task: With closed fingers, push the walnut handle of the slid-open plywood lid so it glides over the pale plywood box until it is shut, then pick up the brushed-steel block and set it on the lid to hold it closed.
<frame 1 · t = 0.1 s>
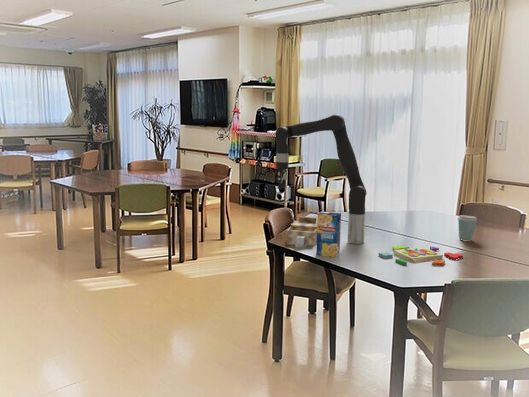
hand: (281, 188, 296), 29 cm above the table, fingers open, 8 cm apart
box: (302, 242, 286), on the table
steel block: (300, 247, 276), on the table
disposable coffee cup: (465, 240, 296), on the table
blue food carton: (327, 254, 263), on the table
lid: (306, 221, 293), point 10 cm above the table, slide at 9.0 cm
pattern blocks set: (418, 257, 261), on the table
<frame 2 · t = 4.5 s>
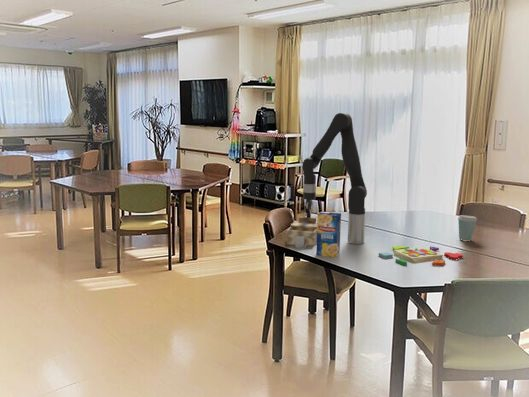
hand: (308, 219, 299), 10 cm above the table, fingers closed
lid: (306, 222, 292), point 10 cm above the table, slide at 8.5 cm, touching gripper
everything else where it was.
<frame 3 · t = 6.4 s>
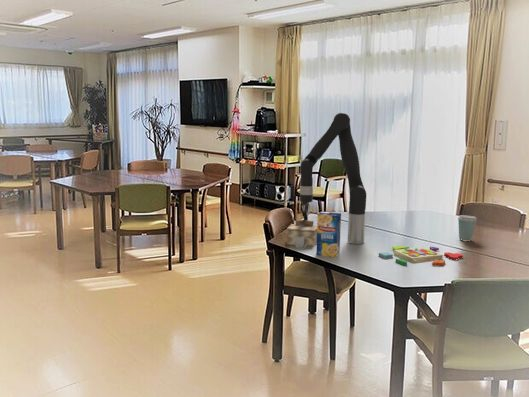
hand: (305, 222, 291), 10 cm above the table, fingers closed
lid: (302, 225, 284), point 10 cm above the table, slide at -0.1 cm, touching gripper
everything else where it was.
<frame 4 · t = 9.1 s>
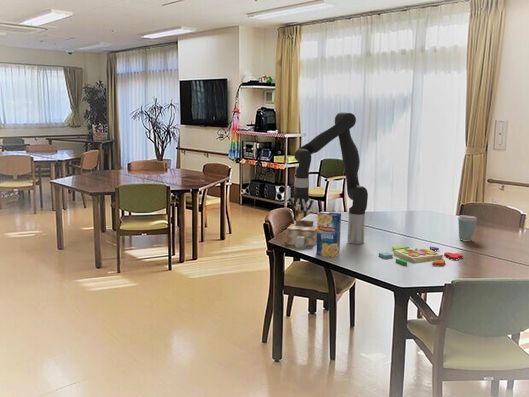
hand: (301, 216, 273), 17 cm above the table, fingers open, 3 cm apart
lid: (302, 225, 284), point 10 cm above the table, slide at 0.0 cm
everything else where it was.
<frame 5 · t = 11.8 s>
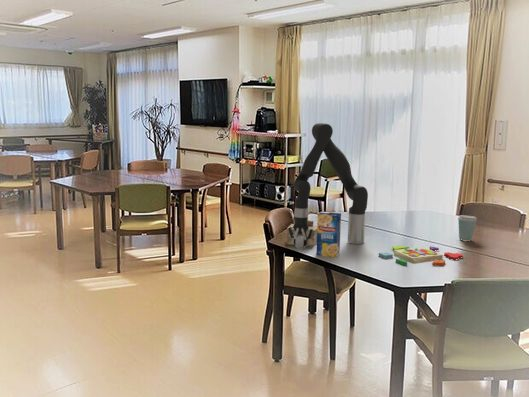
hand: (300, 245, 276), 1 cm above the table, fingers closed on steel block, 4 cm apart
steel block: (300, 247, 276), on the table, touching gripper
everything else where it was.
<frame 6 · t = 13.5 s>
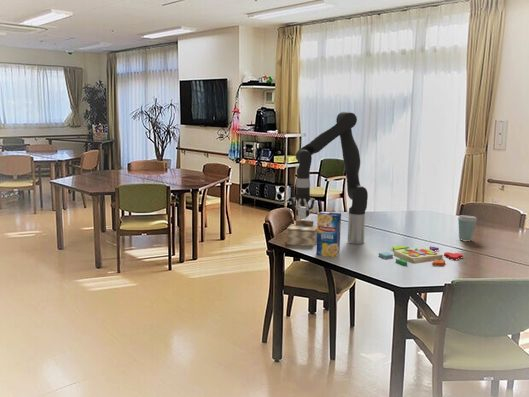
hand: (302, 216, 277), 17 cm above the table, fingers closed on steel block, 4 cm apart
steel block: (302, 217, 277), point 16 cm above the table, touching gripper
everything else where it was.
when the fingers open (11 cm above the table, at t = 15.3 s): steel block stays where it is, resting on lid.
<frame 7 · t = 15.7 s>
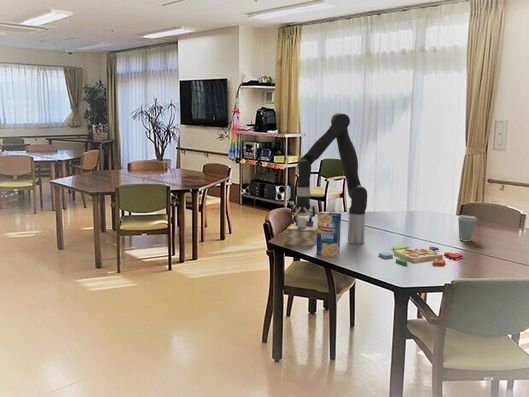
hand: (302, 223, 283), 12 cm above the table, fingers open, 8 cm apart
steel block: (302, 227, 283), point 9 cm above the table, touching lid
lid: (302, 225, 284), point 10 cm above the table, slide at 0.0 cm, touching steel block
everything else where it was.
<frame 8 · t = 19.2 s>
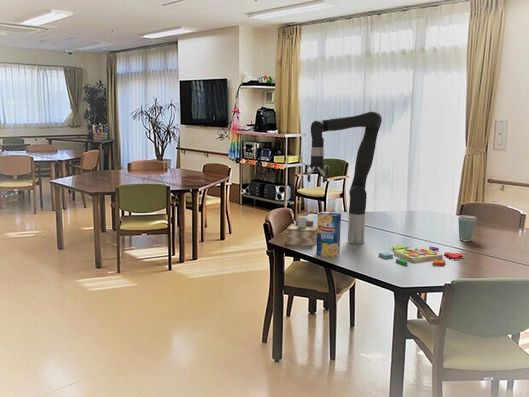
hand: (316, 182, 294), 33 cm above the table, fingers open, 8 cm apart
nothing on the table moved.
at the end: lid slide at 0.0 cm; steel block inside the target area on the box (0.8 cm from its centre), point 9.2 cm above the box's base; the gripper is holding nothing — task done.
